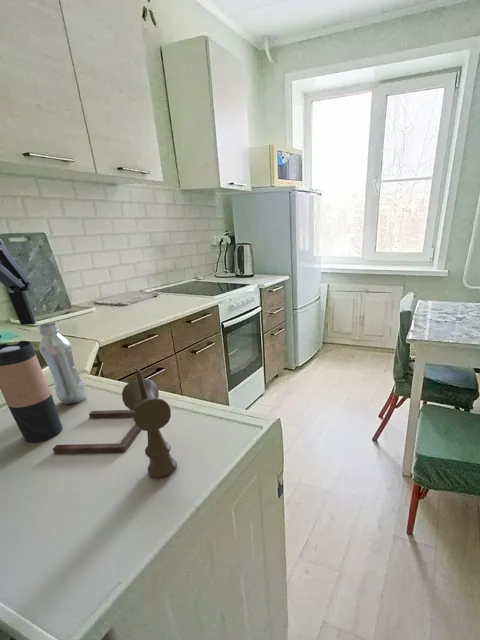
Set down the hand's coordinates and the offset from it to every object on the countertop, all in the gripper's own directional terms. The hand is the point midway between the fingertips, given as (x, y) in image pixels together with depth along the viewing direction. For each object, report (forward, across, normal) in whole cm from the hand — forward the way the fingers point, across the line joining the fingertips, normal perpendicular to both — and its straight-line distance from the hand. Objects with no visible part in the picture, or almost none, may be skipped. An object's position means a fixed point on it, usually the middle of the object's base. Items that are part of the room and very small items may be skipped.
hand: (3, 334), depth 67 cm
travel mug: (+23, 0, 0) cm, 23 cm away
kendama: (+23, -13, -31) cm, 40 cm away
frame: (+23, 0, -14) cm, 26 cm away
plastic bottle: (+23, +15, +2) cm, 27 cm away
